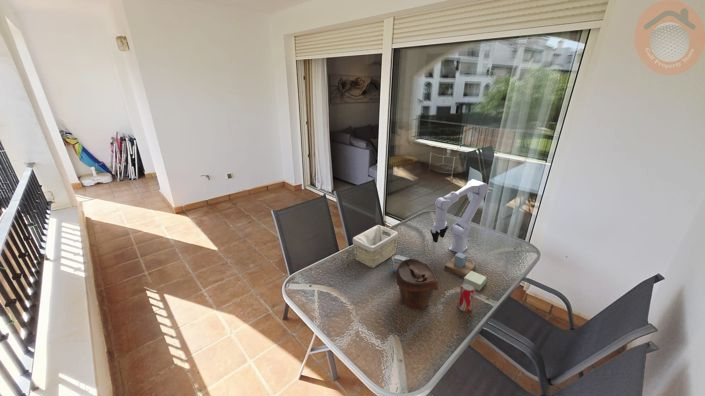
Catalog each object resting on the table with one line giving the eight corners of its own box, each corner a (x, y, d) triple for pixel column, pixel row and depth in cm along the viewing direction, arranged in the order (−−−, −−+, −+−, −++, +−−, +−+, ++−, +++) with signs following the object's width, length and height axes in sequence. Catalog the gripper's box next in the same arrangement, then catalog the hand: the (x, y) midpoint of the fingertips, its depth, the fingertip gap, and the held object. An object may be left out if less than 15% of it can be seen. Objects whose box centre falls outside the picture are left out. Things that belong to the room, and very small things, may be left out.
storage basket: (372, 270, 154) (372, 247, 149) (351, 259, 165) (351, 237, 160) (398, 253, 170) (399, 232, 164) (378, 244, 181) (378, 223, 175)
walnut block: (454, 260, 162) (455, 256, 161) (475, 269, 154) (475, 264, 153) (444, 269, 154) (444, 265, 153) (465, 279, 146) (466, 274, 145)
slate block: (458, 261, 156) (459, 251, 154) (465, 264, 153) (467, 255, 151) (453, 264, 154) (454, 255, 152) (461, 267, 151) (462, 258, 148)
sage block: (470, 276, 148) (470, 270, 146) (485, 283, 142) (486, 277, 141) (463, 284, 142) (464, 277, 141) (479, 291, 137) (480, 284, 136)
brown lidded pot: (430, 321, 120) (433, 286, 113) (387, 304, 130) (388, 271, 124) (441, 297, 134) (445, 265, 128) (402, 283, 144) (404, 253, 138)
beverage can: (465, 315, 123) (468, 293, 118) (454, 306, 128) (457, 284, 123) (475, 310, 125) (478, 288, 121) (464, 301, 130) (467, 280, 126)
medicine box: (393, 271, 153) (393, 258, 150) (395, 267, 157) (396, 254, 153) (407, 275, 149) (407, 261, 146) (409, 271, 153) (410, 257, 150)
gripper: (440, 212, 166) (438, 232, 171) (427, 220, 157) (425, 241, 161) (451, 216, 161) (449, 236, 166) (439, 224, 152) (436, 246, 157)
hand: (438, 239), depth 164 cm, fingers open, 7 cm apart
